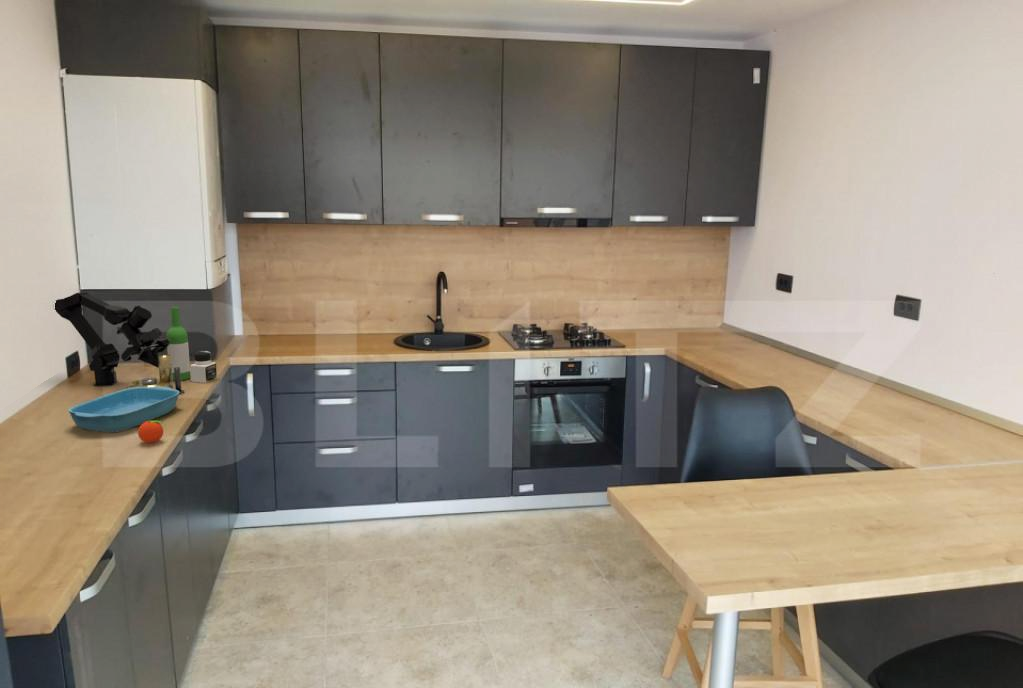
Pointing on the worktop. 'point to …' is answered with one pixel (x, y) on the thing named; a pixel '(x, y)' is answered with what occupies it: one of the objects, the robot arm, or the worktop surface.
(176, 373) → the stop post
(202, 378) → the medicine bottle
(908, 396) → the worktop surface
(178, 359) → the wine bottle
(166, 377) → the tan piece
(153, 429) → the tomato
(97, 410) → the casserole dish
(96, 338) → the robot arm
